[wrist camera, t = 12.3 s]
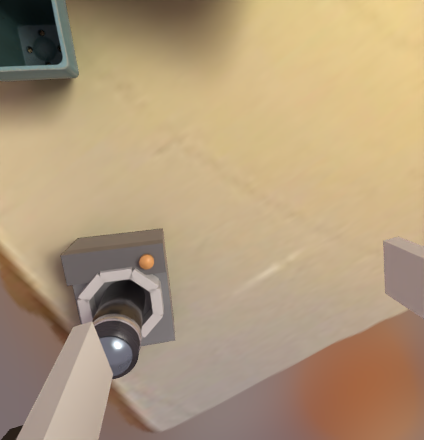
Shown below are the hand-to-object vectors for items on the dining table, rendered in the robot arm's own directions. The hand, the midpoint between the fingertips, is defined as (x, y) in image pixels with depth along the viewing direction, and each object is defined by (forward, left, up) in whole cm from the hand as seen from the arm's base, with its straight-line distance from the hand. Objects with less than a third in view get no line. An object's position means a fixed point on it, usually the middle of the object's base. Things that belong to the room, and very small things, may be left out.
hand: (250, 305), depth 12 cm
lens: (+10, -10, -22) cm, 26 cm away
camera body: (+10, -10, -27) cm, 30 cm away
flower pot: (-19, -15, -27) cm, 36 cm away
